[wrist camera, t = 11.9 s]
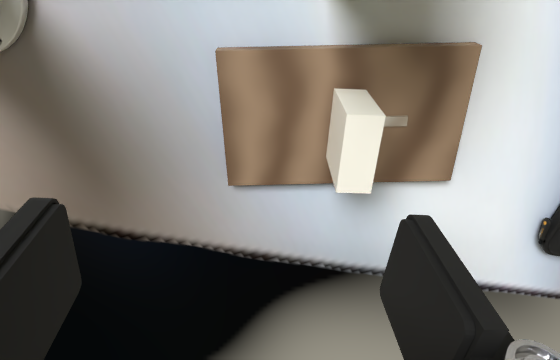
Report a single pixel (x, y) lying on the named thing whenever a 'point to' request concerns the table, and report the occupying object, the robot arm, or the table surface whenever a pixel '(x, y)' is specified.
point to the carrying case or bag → (551, 234)
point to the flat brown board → (318, 105)
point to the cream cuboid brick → (354, 140)
